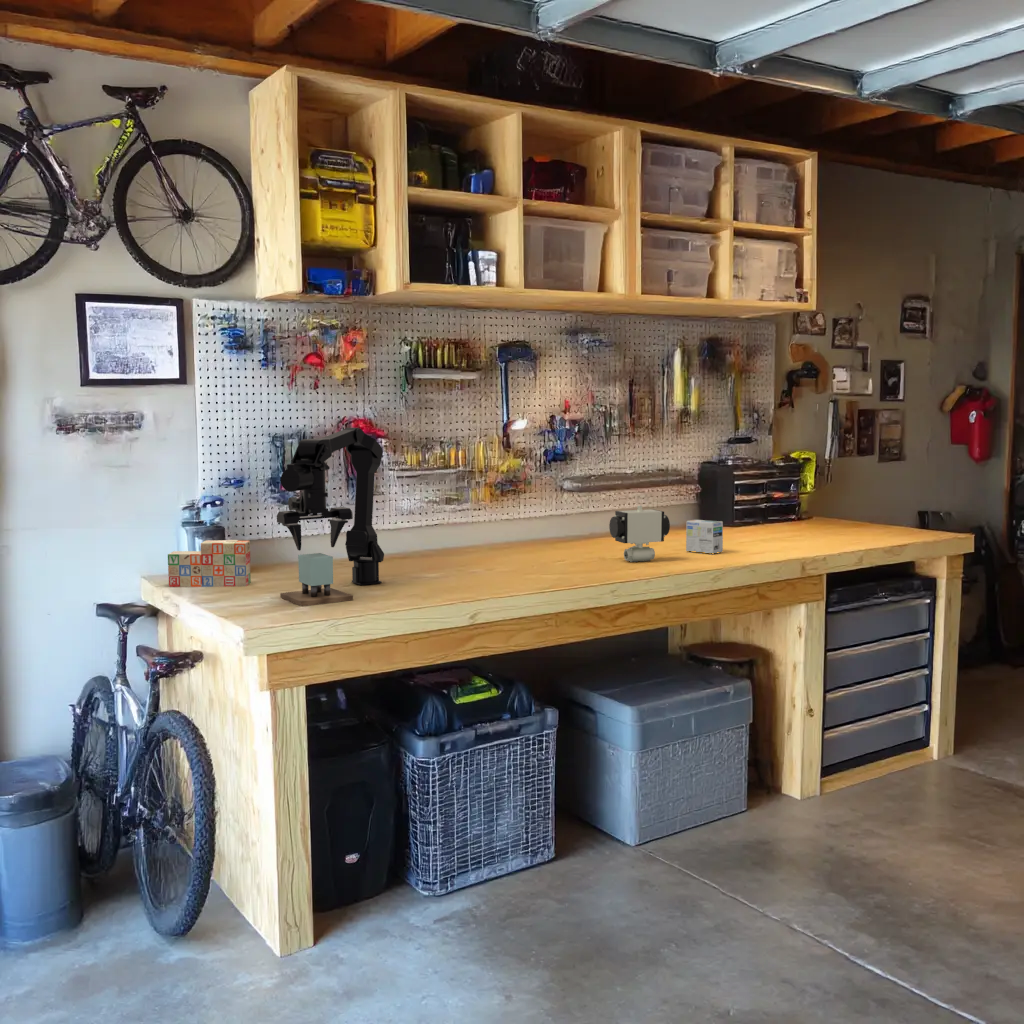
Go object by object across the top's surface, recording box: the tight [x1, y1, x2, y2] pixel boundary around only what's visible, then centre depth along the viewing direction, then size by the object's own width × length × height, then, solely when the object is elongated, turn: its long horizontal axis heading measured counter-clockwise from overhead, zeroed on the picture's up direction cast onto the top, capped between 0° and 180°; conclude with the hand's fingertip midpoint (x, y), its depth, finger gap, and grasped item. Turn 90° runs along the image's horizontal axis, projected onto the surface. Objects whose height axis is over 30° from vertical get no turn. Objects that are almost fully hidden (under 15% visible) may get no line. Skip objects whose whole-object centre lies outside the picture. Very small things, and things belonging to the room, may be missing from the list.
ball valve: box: [608, 505, 671, 563], centre depth 322 cm, size 18×8×18 cm, turn 108°
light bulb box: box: [685, 519, 724, 553], centre depth 341 cm, size 11×7×11 cm, turn 49°
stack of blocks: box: [167, 539, 252, 588], centre depth 282 cm, size 21×6×12 cm, turn 93°
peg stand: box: [279, 583, 354, 607], centre depth 260 cm, size 14×14×4 cm
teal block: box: [297, 552, 334, 587], centre depth 260 cm, size 6×8×7 cm
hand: (316, 548), depth 261 cm, fingers open, 9 cm apart
